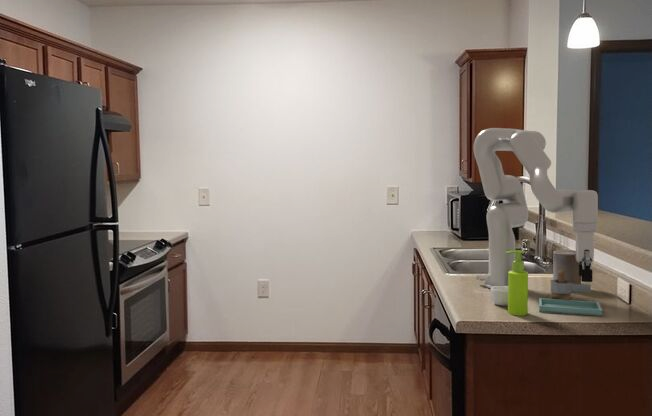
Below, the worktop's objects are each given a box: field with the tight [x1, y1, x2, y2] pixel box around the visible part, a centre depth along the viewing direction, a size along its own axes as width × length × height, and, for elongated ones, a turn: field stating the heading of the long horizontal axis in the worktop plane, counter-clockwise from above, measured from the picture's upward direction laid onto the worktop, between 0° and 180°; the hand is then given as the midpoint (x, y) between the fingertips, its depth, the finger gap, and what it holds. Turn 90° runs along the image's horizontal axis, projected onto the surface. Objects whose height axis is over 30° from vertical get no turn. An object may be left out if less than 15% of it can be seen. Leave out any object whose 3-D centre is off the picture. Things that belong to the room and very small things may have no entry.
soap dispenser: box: [505, 249, 529, 317], centre depth 178 cm, size 6×7×20 cm
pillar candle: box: [552, 248, 582, 283], centre depth 210 cm, size 10×10×15 cm
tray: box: [538, 297, 603, 317], centre depth 182 cm, size 18×10×2 cm, turn 70°
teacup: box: [490, 286, 508, 307], centre depth 191 cm, size 10×8×5 cm
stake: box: [547, 269, 574, 300], centre depth 191 cm, size 8×8×11 cm
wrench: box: [550, 279, 592, 294], centre depth 190 cm, size 12×6×4 cm, turn 70°
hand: (585, 278), depth 188 cm, fingers open, 9 cm apart
